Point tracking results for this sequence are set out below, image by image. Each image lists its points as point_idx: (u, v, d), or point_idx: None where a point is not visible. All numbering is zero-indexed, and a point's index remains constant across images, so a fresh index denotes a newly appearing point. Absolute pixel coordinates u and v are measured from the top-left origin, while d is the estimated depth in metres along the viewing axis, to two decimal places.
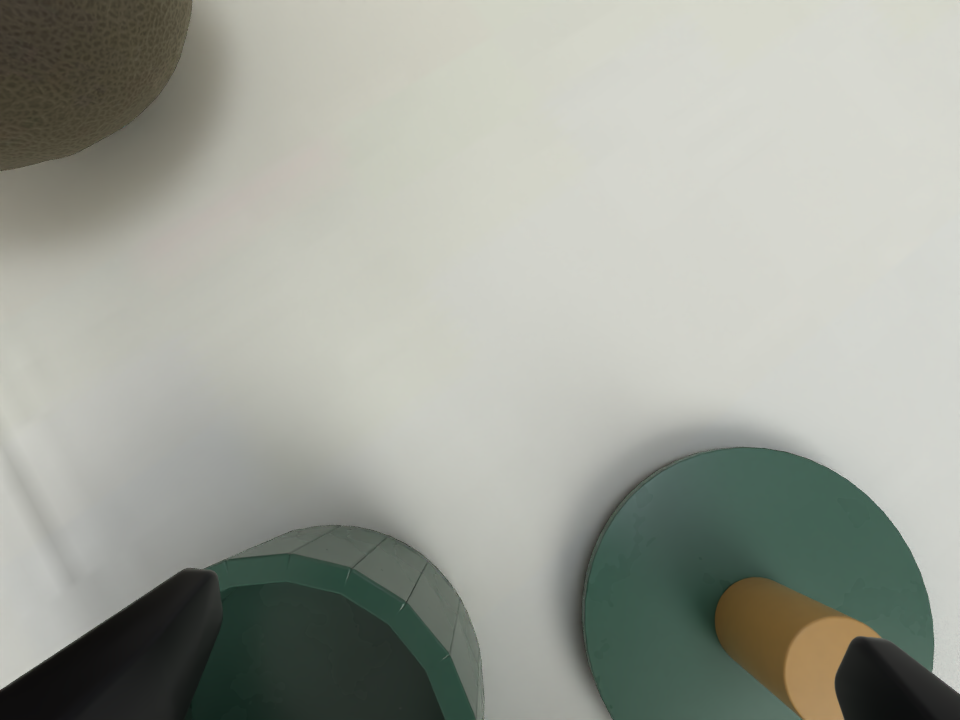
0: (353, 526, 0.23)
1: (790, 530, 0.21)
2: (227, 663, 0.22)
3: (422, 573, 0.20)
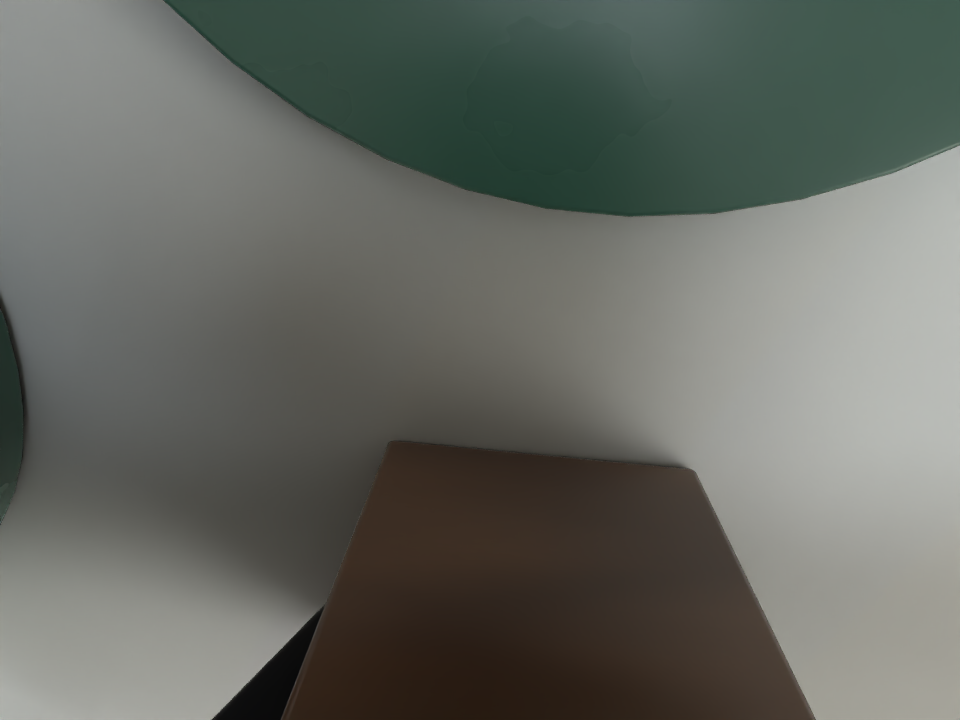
0: None
1: None
2: None
3: None
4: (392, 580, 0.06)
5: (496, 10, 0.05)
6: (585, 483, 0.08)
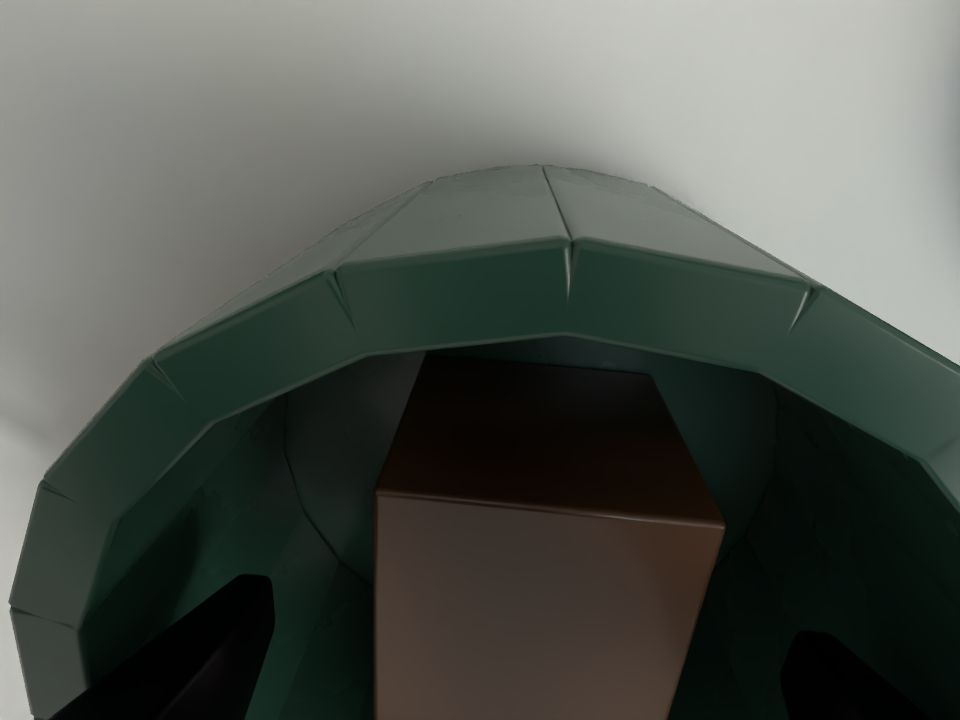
0: (458, 174, 0.10)
1: None
2: (345, 475, 0.12)
3: (682, 205, 0.08)
4: (438, 424, 0.09)
5: None
6: (569, 380, 0.10)
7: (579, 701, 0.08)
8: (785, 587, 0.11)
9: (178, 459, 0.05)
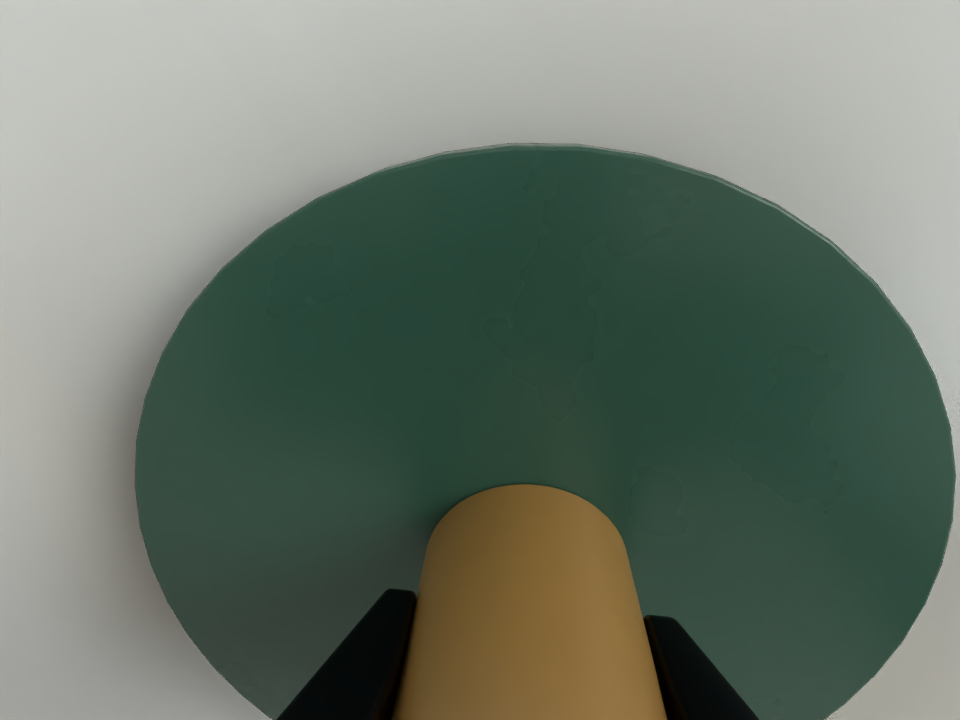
0: None
1: (336, 447, 0.09)
2: None
3: None
4: None
5: None
6: None
7: None
8: None
9: None
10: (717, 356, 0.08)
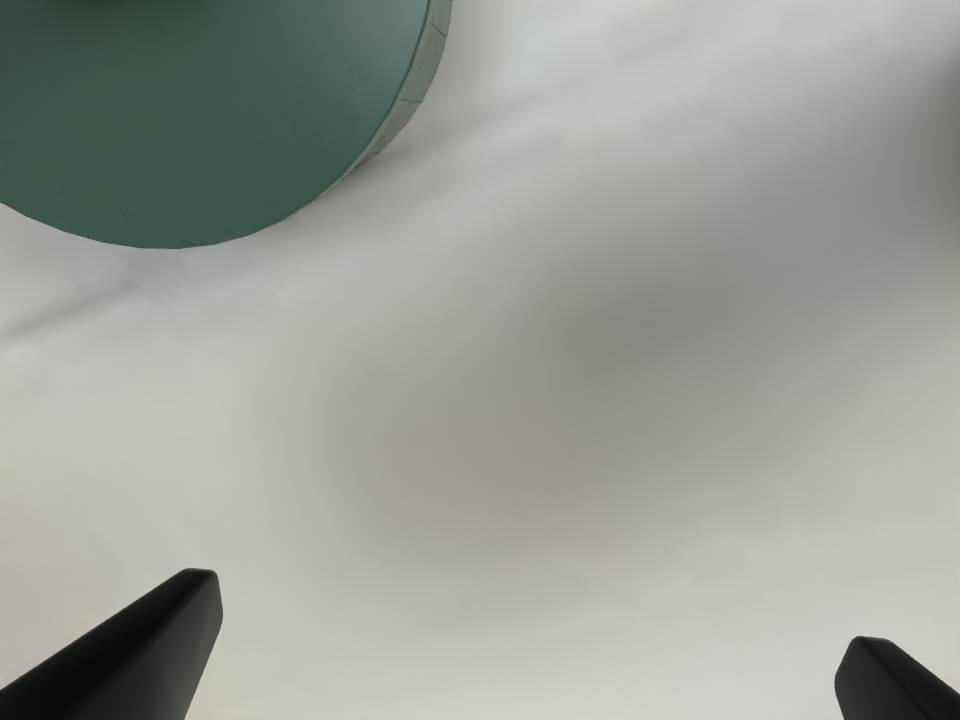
0: None
1: None
2: None
3: None
4: None
5: (279, 118, 0.11)
6: None
7: None
8: None
9: None
10: None
